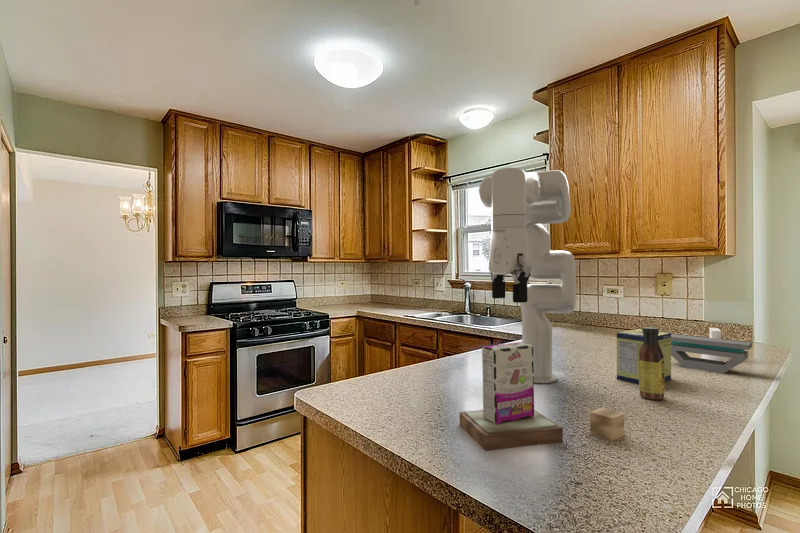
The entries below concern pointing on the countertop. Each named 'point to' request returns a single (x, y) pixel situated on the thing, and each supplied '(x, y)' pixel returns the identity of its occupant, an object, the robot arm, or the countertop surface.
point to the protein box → (630, 354)
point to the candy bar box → (508, 382)
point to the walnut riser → (510, 431)
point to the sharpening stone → (708, 352)
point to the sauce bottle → (651, 366)
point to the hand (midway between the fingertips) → (508, 300)
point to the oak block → (607, 423)
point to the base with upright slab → (716, 334)
